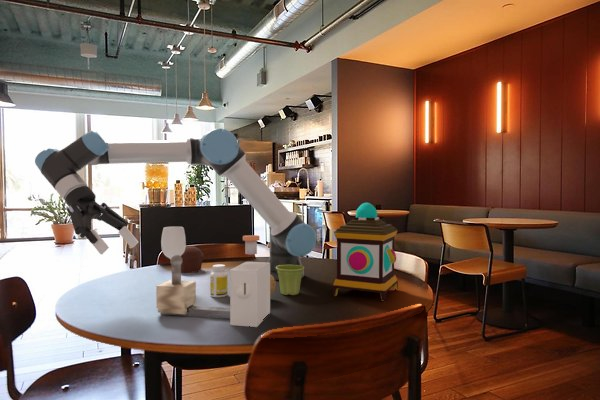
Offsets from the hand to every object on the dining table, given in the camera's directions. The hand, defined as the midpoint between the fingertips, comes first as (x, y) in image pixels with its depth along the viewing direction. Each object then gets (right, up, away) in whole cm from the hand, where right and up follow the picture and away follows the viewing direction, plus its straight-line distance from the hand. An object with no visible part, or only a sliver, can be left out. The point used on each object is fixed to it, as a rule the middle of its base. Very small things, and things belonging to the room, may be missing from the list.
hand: (120, 248), depth 117 cm
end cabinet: (+38, -18, -8) cm, 43 cm away
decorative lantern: (+73, -17, +19) cm, 77 cm away
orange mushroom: (+38, -1, -9) cm, 39 cm away
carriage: (+17, -17, -4) cm, 24 cm away
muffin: (+5, -16, +56) cm, 58 cm away
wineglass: (+7, -17, +26) cm, 32 cm away
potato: (+37, -17, +9) cm, 42 cm away
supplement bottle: (+25, -17, +15) cm, 34 cm away
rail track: (+24, -18, -5) cm, 30 cm away
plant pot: (+48, -17, +18) cm, 54 cm away
